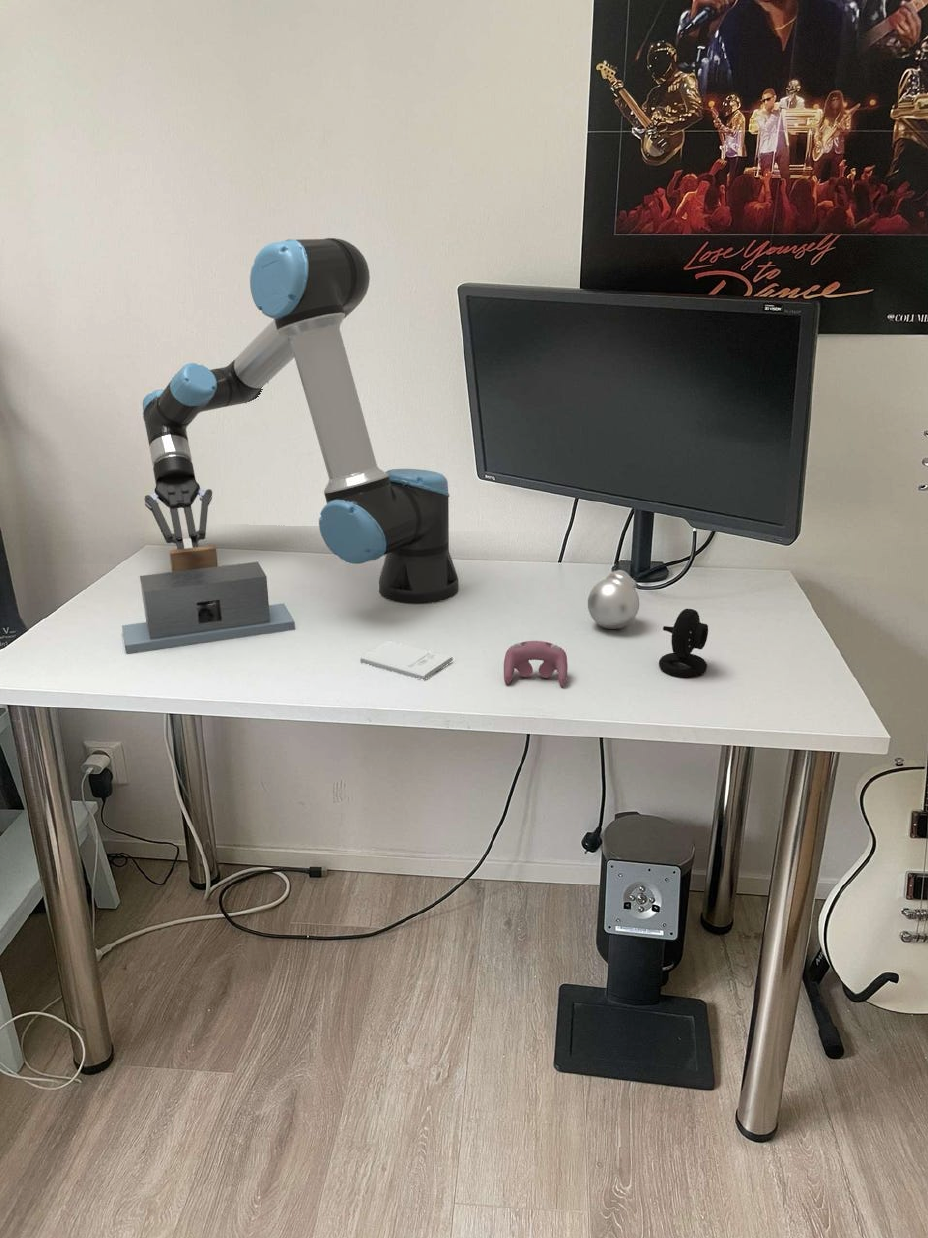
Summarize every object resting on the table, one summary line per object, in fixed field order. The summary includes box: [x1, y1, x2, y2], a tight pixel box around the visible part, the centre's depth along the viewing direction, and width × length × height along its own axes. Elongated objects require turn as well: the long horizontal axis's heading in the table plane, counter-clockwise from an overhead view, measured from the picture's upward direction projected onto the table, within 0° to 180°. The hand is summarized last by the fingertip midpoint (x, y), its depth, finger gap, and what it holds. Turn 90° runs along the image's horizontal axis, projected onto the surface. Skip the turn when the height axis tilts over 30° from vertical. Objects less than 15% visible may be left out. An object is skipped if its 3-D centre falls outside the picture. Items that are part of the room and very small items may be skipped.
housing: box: [121, 561, 296, 655], centre depth 173 cm, size 28×9×10 cm, turn 111°
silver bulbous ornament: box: [587, 569, 640, 630], centre depth 174 cm, size 9×10×10 cm
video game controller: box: [503, 640, 568, 687], centre depth 156 cm, size 10×5×7 cm, turn 85°
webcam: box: [658, 608, 709, 679], centre depth 158 cm, size 8×8×10 cm
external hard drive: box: [360, 639, 454, 681], centre depth 163 cm, size 2×8×12 cm
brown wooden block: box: [169, 545, 219, 606], centre depth 180 cm, size 8×12×10 cm
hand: (192, 572), depth 189 cm, fingers closed
